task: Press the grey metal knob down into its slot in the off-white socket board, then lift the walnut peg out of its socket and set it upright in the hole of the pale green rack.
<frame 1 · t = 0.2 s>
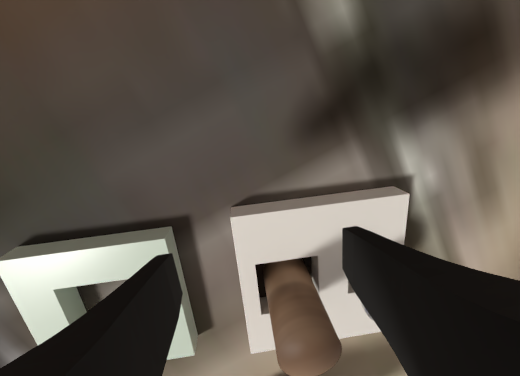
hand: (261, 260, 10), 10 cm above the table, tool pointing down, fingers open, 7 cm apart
socket block: (315, 266, 22), on the table
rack: (117, 295, 21), on the table
peg: (284, 270, 22), resting in socket block
grey metal knob: (379, 287, 19), point 4 cm above the table, slide at 0.0 cm
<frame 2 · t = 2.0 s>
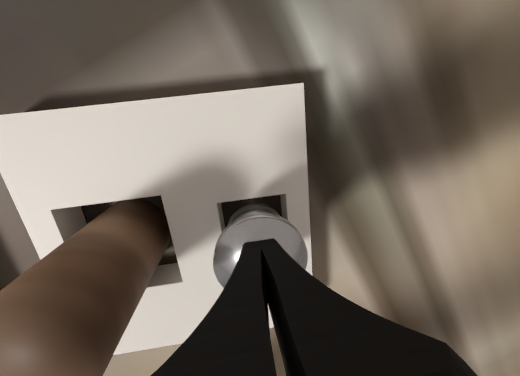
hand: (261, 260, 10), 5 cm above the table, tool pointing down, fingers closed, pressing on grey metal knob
socket block: (187, 223, 14), on the table
peg: (136, 230, 14), resting in socket block
grey metal knob: (257, 243, 11), point 3 cm above the table, slide at 0.3 cm, touching gripper
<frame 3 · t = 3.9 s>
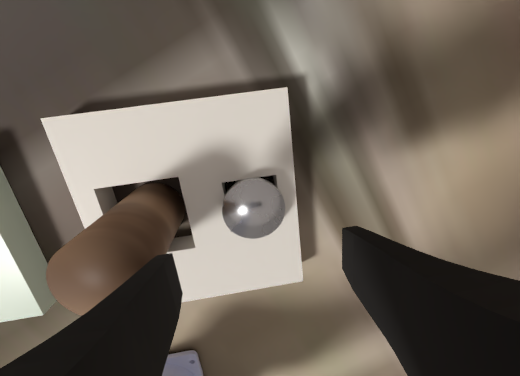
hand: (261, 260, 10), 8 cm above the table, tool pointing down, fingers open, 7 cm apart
socket block: (197, 202, 18), on the table
peg: (157, 208, 18), resting in socket block
grey metal knob: (252, 201, 16), point 2 cm above the table, slide at 2.1 cm
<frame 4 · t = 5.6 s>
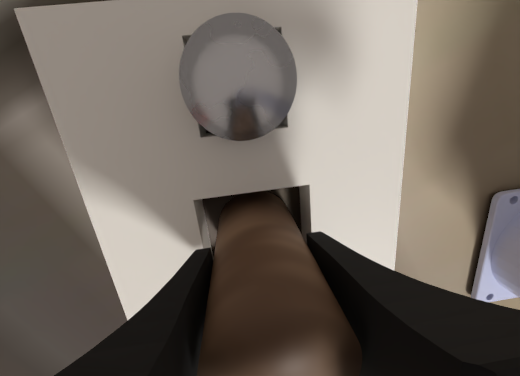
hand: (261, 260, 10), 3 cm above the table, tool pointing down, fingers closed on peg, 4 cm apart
socket block: (248, 172, 12), on the table
peg: (255, 224, 13), resting in socket block, touching gripper
grey metal knob: (238, 85, 10), point 2 cm above the table, slide at 2.1 cm
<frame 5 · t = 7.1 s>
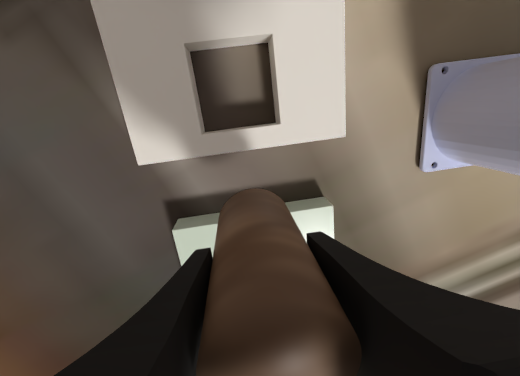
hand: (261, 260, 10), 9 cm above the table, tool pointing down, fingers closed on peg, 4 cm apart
socket block: (228, 40, 16), on the table
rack: (261, 268, 21), on the table
peg: (254, 222, 13), point 6 cm above the table, touching gripper
when the fingers open (5 cm above the table, at t = 8.8 s): peg drops 1 cm, resting in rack.
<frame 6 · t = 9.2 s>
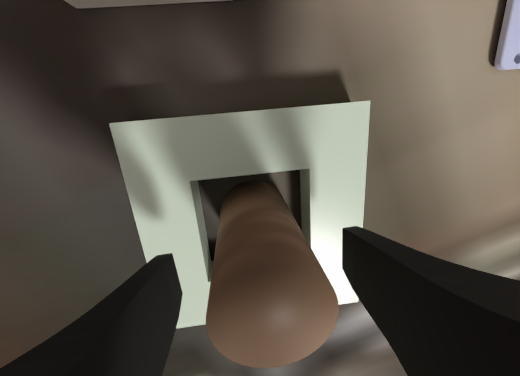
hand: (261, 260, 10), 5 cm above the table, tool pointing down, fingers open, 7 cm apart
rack: (253, 213, 15), on the table
peg: (253, 211, 15), resting in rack
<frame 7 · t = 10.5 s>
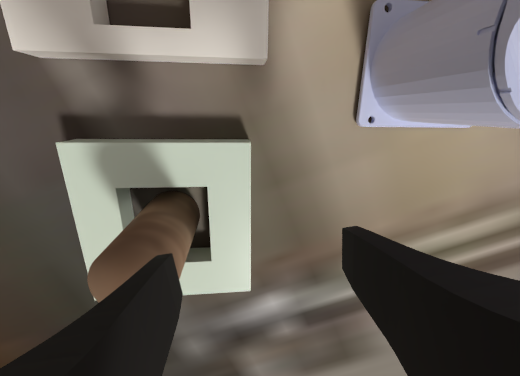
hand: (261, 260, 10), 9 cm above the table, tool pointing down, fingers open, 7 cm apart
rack: (173, 215, 19), on the table
peg: (174, 214, 19), resting in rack
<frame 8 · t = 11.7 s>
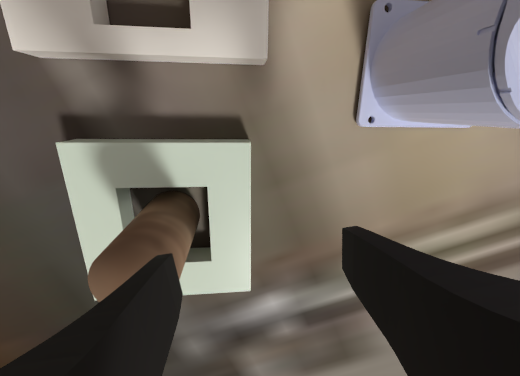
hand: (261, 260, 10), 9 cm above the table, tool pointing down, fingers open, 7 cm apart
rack: (173, 215, 19), on the table
peg: (174, 214, 19), resting in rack
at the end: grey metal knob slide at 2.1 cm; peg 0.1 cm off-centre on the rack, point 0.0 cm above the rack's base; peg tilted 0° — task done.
